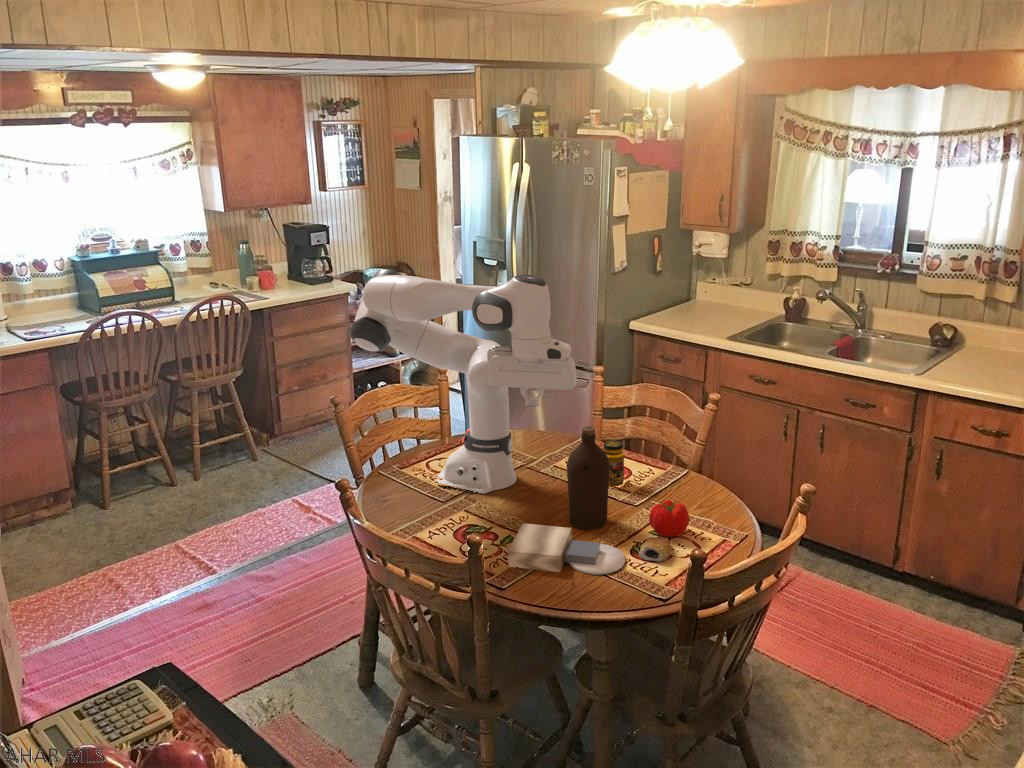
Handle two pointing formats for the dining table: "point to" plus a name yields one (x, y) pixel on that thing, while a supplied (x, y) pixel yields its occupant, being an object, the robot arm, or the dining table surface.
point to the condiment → (615, 462)
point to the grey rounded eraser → (582, 552)
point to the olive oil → (588, 483)
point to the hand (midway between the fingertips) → (532, 405)
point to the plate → (603, 562)
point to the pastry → (655, 549)
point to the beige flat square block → (539, 547)
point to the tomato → (669, 519)
